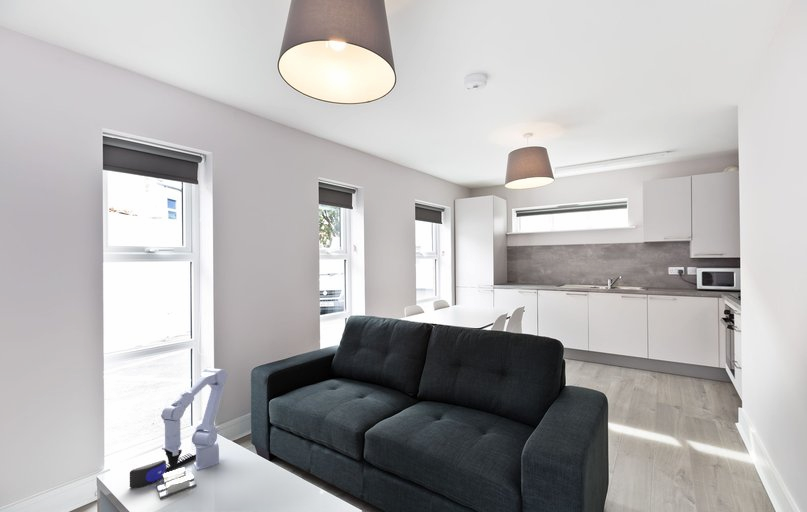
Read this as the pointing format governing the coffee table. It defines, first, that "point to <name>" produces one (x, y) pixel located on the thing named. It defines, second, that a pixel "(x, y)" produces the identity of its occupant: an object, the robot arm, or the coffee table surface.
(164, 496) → the rail plate
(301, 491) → the coffee table surface
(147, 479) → the leaning round-cornered charcoal block
